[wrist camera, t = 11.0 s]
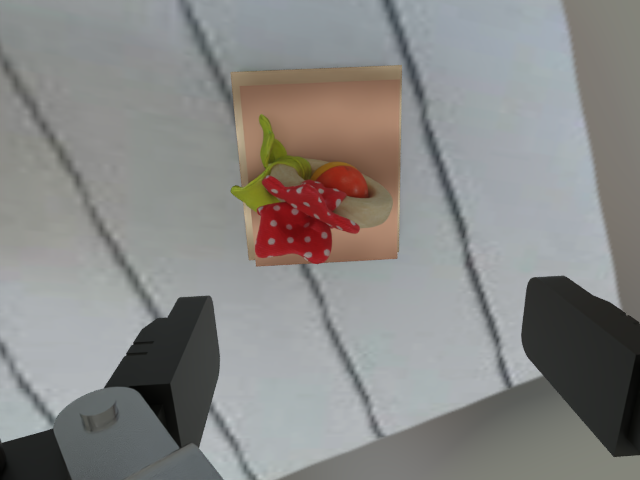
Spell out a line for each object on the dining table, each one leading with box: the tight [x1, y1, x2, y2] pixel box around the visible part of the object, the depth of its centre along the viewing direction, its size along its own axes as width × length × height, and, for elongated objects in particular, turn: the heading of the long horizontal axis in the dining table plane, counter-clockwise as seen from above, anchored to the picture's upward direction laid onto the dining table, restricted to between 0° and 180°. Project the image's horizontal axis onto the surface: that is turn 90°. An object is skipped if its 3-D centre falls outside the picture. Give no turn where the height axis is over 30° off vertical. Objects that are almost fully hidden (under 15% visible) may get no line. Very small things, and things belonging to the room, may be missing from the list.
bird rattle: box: [231, 114, 393, 264], centre depth 25 cm, size 6×11×9 cm
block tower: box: [231, 65, 402, 266], centre depth 33 cm, size 14×12×8 cm
